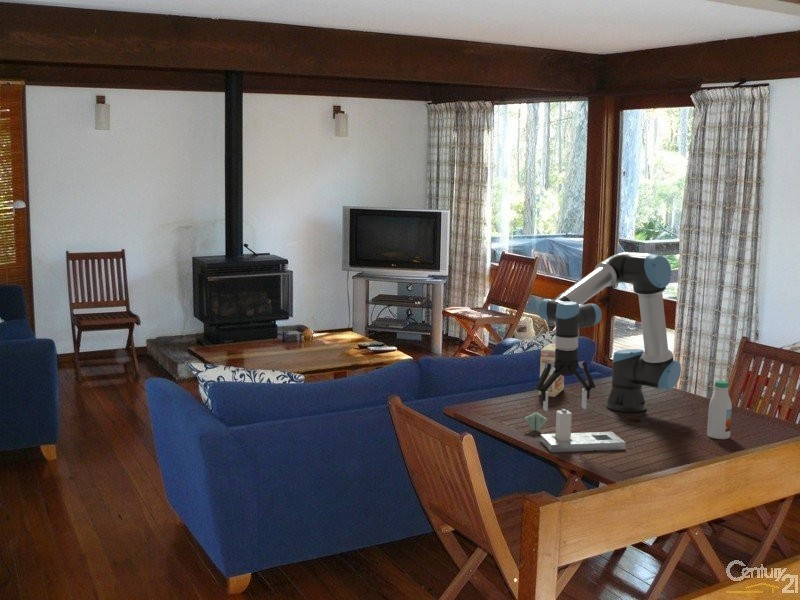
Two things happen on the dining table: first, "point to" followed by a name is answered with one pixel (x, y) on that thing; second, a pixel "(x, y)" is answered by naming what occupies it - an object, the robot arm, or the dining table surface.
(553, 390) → the coffeecake box
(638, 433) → the dining table surface
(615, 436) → the panel
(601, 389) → the dining table surface
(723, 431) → the milk bottle
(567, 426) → the plug
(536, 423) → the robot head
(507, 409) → the dining table surface
